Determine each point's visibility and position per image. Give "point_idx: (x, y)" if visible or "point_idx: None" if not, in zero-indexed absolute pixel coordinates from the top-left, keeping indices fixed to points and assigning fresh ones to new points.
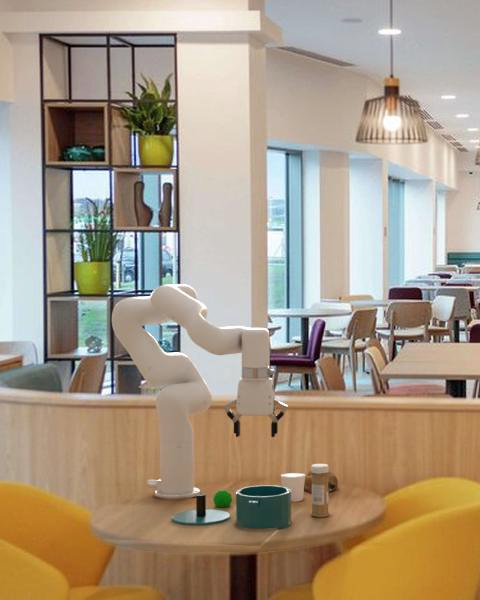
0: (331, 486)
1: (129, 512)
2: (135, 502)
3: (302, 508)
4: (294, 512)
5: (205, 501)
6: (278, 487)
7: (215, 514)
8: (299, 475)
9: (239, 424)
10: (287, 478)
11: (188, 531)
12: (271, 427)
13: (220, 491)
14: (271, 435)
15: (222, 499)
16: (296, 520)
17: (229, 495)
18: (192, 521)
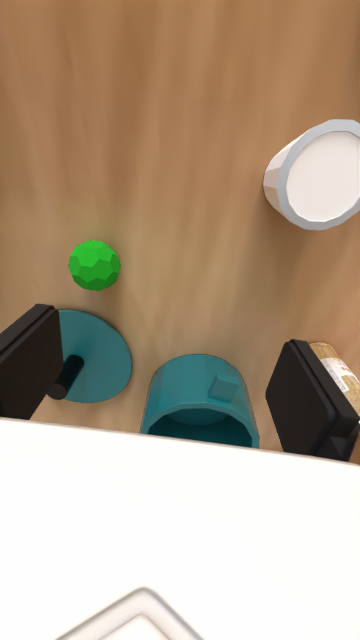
0: None
1: None
2: None
3: (294, 289)
4: (267, 322)
5: (72, 383)
6: (236, 418)
7: (101, 355)
8: (350, 191)
9: (17, 387)
10: (294, 223)
11: (75, 411)
12: (283, 446)
13: (82, 279)
14: (267, 401)
15: (97, 290)
16: (259, 378)
17: (110, 279)
18: (70, 393)
